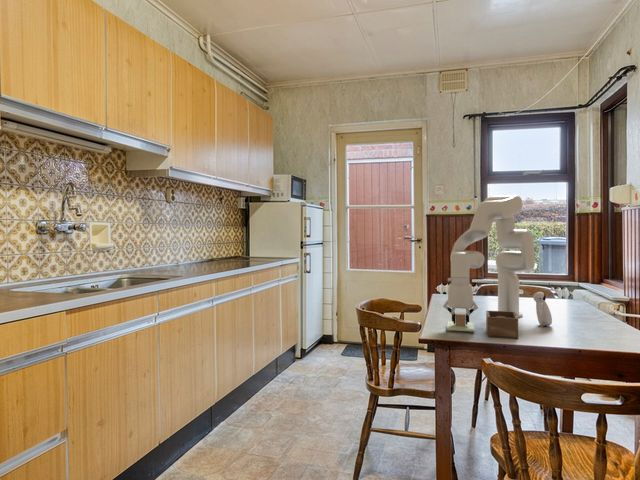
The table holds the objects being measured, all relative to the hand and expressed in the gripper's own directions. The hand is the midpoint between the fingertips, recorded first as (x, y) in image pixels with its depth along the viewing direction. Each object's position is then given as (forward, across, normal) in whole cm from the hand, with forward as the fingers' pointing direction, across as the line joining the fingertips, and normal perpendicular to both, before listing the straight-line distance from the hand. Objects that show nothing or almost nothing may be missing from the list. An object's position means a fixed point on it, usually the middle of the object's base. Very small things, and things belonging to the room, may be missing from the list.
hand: (460, 323), depth 183 cm
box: (+3, +16, -3) cm, 17 cm away
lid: (+2, 0, +1) cm, 2 cm away
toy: (+3, +34, +17) cm, 38 cm away
